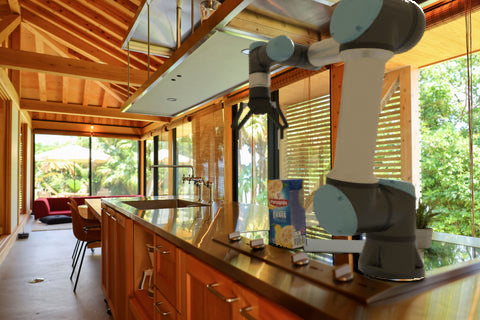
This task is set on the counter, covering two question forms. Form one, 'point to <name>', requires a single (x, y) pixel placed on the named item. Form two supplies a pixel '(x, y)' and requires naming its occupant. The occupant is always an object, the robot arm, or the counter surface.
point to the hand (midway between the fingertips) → (259, 149)
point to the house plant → (424, 225)
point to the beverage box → (287, 212)
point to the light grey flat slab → (334, 246)
